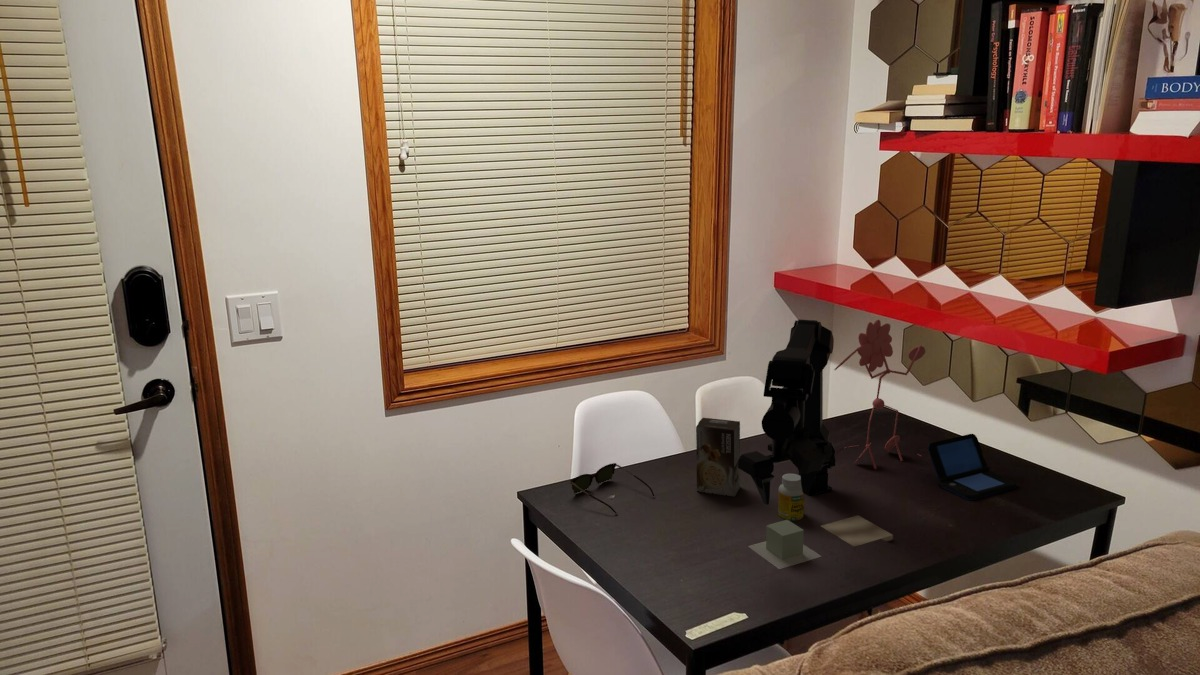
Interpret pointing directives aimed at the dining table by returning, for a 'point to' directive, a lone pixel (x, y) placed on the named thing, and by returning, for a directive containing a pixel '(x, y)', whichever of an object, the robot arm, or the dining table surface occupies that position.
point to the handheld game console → (965, 468)
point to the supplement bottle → (791, 498)
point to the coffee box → (718, 456)
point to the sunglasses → (598, 480)
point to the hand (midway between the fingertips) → (785, 498)
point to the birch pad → (857, 531)
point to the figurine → (874, 354)
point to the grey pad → (777, 562)
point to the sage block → (784, 539)
